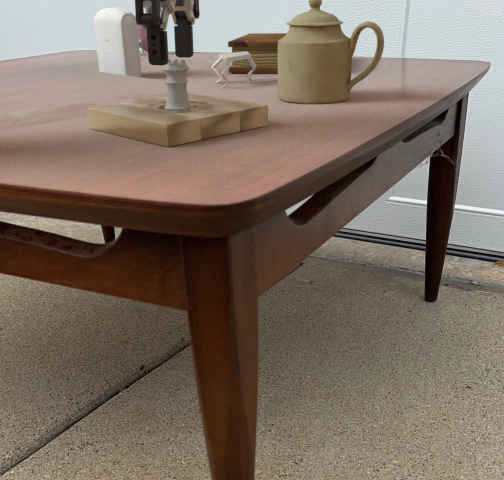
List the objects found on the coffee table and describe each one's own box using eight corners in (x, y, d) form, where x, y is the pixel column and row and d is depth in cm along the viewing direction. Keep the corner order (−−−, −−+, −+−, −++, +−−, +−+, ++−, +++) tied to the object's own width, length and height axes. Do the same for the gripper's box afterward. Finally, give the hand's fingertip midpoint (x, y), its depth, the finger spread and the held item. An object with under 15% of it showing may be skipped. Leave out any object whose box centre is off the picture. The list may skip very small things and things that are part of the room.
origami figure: (212, 79, 126) (211, 51, 124) (258, 79, 125) (258, 50, 123) (205, 89, 115) (203, 58, 113) (255, 89, 115) (254, 58, 113)
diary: (325, 73, 130) (326, 41, 128) (228, 73, 133) (227, 42, 131) (333, 60, 151) (334, 31, 148) (249, 60, 154) (249, 32, 151)
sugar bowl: (367, 90, 111) (372, -12, 104) (382, 102, 101) (389, -10, 94) (274, 93, 110) (274, -10, 104) (281, 105, 100) (281, -8, 94)
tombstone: (95, 76, 134) (88, 7, 128) (114, 73, 136) (108, 6, 131) (126, 80, 127) (119, 8, 121) (145, 78, 129) (139, 7, 124)
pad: (168, 147, 77) (166, 124, 76) (89, 128, 87) (87, 108, 86) (268, 125, 87) (268, 105, 86) (187, 110, 97) (186, 92, 96)
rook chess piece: (157, 130, 85) (152, 62, 82) (166, 123, 89) (162, 58, 86) (192, 130, 85) (189, 62, 81) (200, 123, 89) (197, 58, 85)
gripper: (157, -86, 84) (165, 54, 91) (104, -97, 71) (118, 66, 78) (216, -88, 82) (219, 56, 89) (172, -99, 70) (180, 68, 76)
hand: (172, 60), depth 84 cm, fingers open, 8 cm apart
